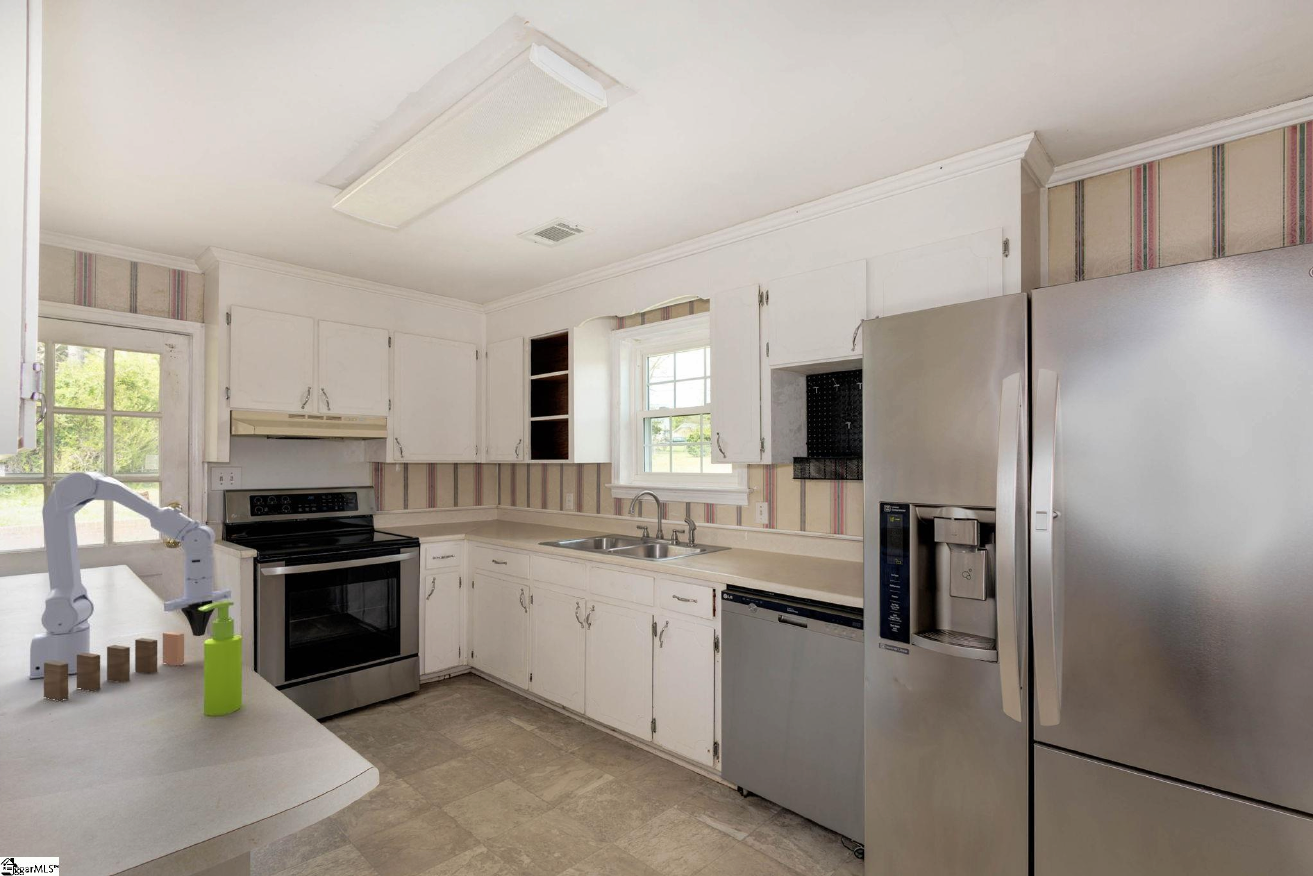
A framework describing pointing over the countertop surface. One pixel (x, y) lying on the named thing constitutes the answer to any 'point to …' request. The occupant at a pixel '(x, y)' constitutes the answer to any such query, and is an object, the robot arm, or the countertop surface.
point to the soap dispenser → (222, 664)
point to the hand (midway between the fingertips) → (198, 635)
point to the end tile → (56, 680)
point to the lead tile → (173, 648)
